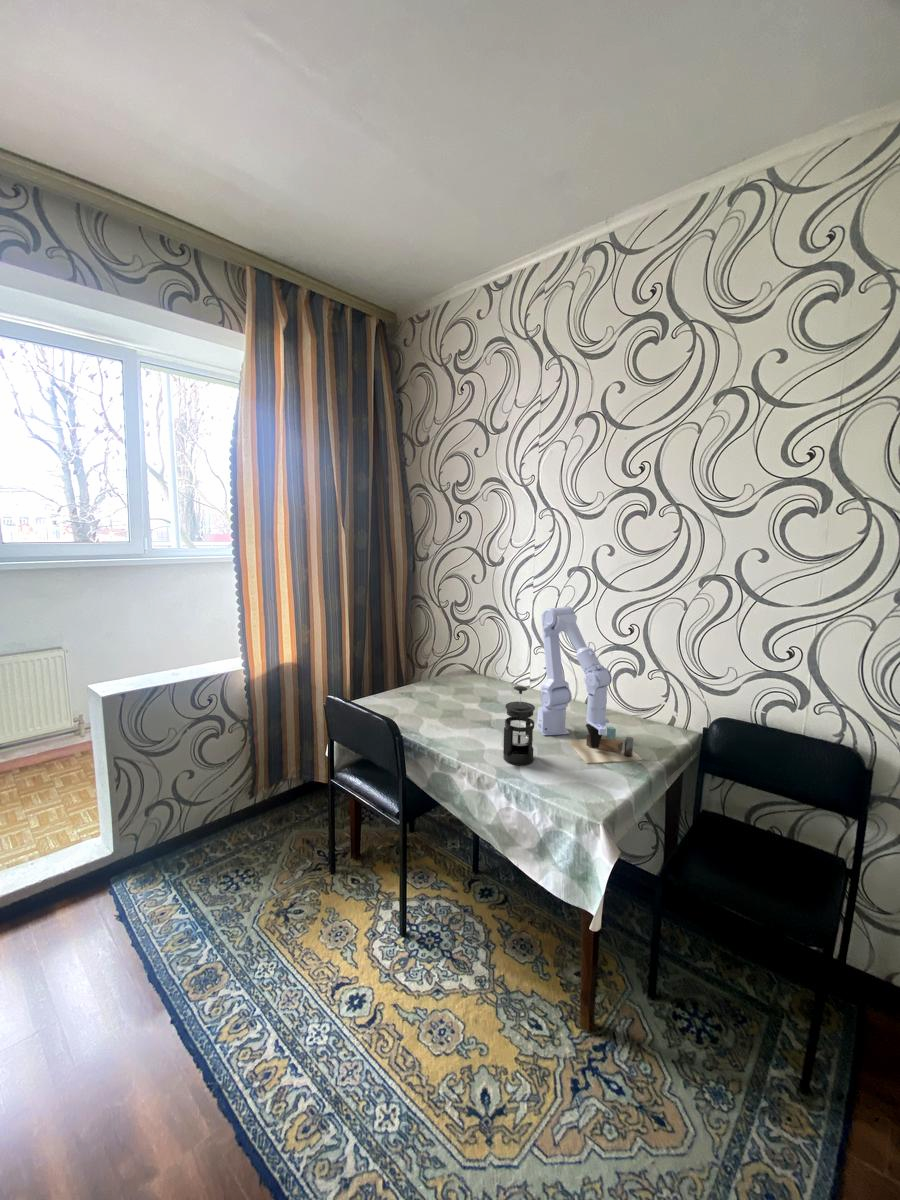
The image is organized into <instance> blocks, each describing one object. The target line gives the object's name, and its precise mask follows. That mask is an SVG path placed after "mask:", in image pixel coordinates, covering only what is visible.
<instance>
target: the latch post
mask: <svg viewBox="0 0 900 1200" xmlns="http://www.w3.org/2000/svg"><path fill="white" fill-rule="evenodd" d="M616 735H617V728H616V727H614V726H608V727H606V738H609V739H614V740H615V737H617V736H616Z"/></svg>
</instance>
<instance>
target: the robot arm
mask: <svg viewBox="0 0 900 1200" xmlns="http://www.w3.org/2000/svg"><path fill="white" fill-rule="evenodd" d="M577 619H578V616H577V614H576V613H575V611H574V608H572V607H571V606H569V605H567V606H561V607H548V608H546V609H544V611H543V612H542V614H541V624H542V639H543V649H544V651H543V652H544V659H545V661H544V662H545V669H546V670H545V673H546V680H545V681H544V682H543V683H542V684H541V691H540V692H541V693H540V701H541V704H542V706H538V708H537V714H536V715H537V719H536V720H537V721H536V728H537V729H538V731H539V732H540V733H541V735H542V736H559V735H570V732H569V731H568V729H566V720H567V719H566V717H567V707H568V705H569V703H571V701H572V698H573V697H572V696H573V695H572V692H571V689H570V685H569V682H568V681H566V680H565V679H564V675H563V668H562V667H563V666H562V657H561V655H562V654H561V645H560V633H561V632H564V633H565V635H566V636H567V638H568V639H569V641H570V642H571V644H572V645H573V647H574V648H575V650H576V655H575V657H576V660H577V661H578V663H579V665H580V667H581V669H582V670H583V672H584V674H585V676H584V679H583V680H584V683H585V685H586V686H585V687H586V691H587V705H586V706H587V707H586V717H585V722H586V723H587V724H586V725H585V728H586V729H587V733H589V737H590V744H591V747H592V748H598V747H599V744H600V740H601V737H603V736H607V727H606V725H607V724H609V723H610V720H609V719H608V718H606V717H607V715H606V714H607V699H608V698H607V697H608V687H609V686H610V685H611V684H612V680H613V679H612V678H613V677H612V674H611V672H610V670H609V669H608V668H606V667H604V665H602V664H601V661H600V660H599V658H598V657H597V655H596V652H595V650H594V649H593V648H591V647H588V646H587V644H586V641H585V639H584V637H583V635H582V633H581V631H580V628H579V626H578V624H577Z"/></svg>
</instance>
